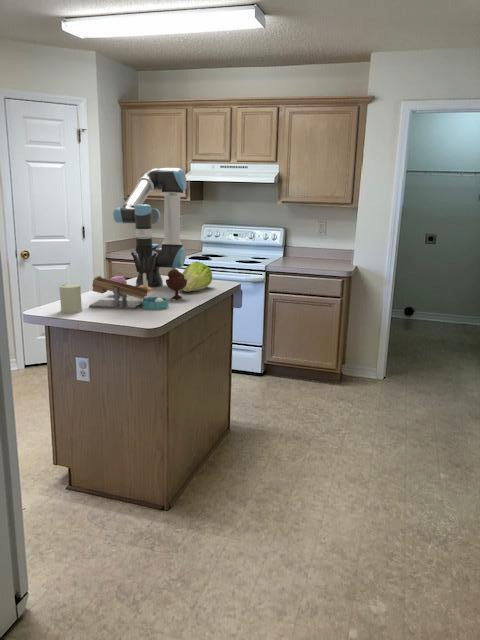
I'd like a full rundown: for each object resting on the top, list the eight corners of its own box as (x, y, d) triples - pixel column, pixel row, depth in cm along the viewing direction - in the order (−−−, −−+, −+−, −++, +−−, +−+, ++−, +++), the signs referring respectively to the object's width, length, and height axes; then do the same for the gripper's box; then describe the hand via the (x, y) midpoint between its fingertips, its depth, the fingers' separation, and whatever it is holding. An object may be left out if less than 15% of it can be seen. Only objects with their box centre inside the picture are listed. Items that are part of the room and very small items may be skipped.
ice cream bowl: (184, 301, 252) (183, 271, 248) (162, 300, 254) (161, 270, 250) (190, 297, 262) (190, 267, 258) (169, 295, 264) (169, 267, 260)
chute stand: (100, 301, 249) (98, 282, 247) (143, 303, 247) (142, 283, 244) (89, 307, 237) (87, 287, 234) (135, 309, 234) (134, 289, 232)
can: (66, 308, 235) (64, 282, 232) (85, 308, 234) (83, 283, 231) (57, 312, 226) (55, 286, 223) (77, 313, 225) (75, 286, 222)
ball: (157, 295, 240) (165, 298, 240) (155, 303, 241) (163, 306, 241) (155, 297, 236) (163, 300, 236) (152, 305, 237) (160, 308, 237)
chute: (105, 284, 254) (107, 272, 252) (151, 296, 252) (153, 284, 250) (91, 291, 237) (93, 278, 235) (140, 304, 236) (143, 290, 234)
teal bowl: (147, 303, 246) (147, 296, 245) (170, 304, 244) (170, 297, 243) (139, 309, 235) (139, 301, 234) (164, 310, 233) (164, 302, 232)
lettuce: (202, 303, 270) (176, 304, 276) (217, 280, 289) (192, 281, 295) (194, 278, 263) (167, 280, 269) (210, 257, 282) (185, 259, 288)
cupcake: (129, 295, 264) (128, 276, 261) (112, 297, 260) (111, 277, 257) (124, 292, 271) (123, 273, 269) (108, 293, 268) (107, 274, 265)
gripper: (128, 238, 240) (130, 287, 246) (155, 238, 238) (156, 288, 244) (133, 236, 247) (135, 284, 253) (159, 237, 245) (160, 285, 251)
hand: (145, 286), depth 248 cm, fingers closed
